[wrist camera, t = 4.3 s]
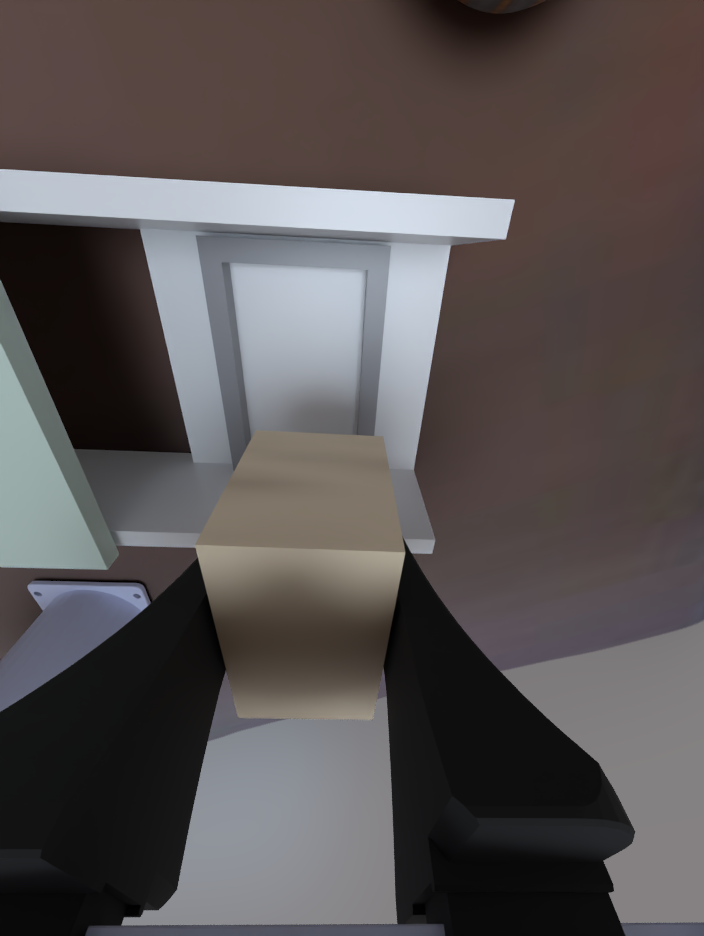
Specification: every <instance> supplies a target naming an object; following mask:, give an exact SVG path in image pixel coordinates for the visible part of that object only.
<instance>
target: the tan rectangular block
mask: <svg viewBox="0 0 704 936" xmlns="http://www.w3.org/2000/svg"><path fill="white" fill-rule="evenodd" d="M195 548H196V552H197V556H198V560H199V564H200V568H201V572H202V575H203V579H204V583H205V587H206V591H207V595H208V599H209V603H210V607H211V611H212V615H213V619H214V623H215V627H216V631H217V635H218V639H219V643H220V647H221V651H222V655H223V659H224V663H225V667H226V671H227V675H228V679H229V683H230V687H231V691H232V695H233V699H234V703H235V707H236V711H237V715H238V718H277V719H337V720H373V717H374V712H375V706H376V701H377V696H378V691H379V686H380V681H381V676H382V670H383V665H384V660H385V655H386V650H387V645H388V640H389V634H390V629H391V624H392V619H393V614H394V609H395V603H396V598H397V593H398V588H399V583H400V578H401V573H402V567H403V562H404V557H405V548H404V542H403V537H402V532H401V527H400V522H399V516H398V511H397V506H396V501H395V496H394V490H393V485H392V480H391V475H390V470H389V464H388V459H387V454H386V449H385V444H384V439H383V436H364V435H343V434H322V433H302V432H281V431H260V430H256V431H255V433H254V435H253V437H252V439H251V441H250V442H249V444H248V446H247V448H246V450H245V452H244V454H243V456H242V457H241V459H240V461H239V463H238V465H237V467H236V469H235V471H234V472H233V474H232V476H231V478H230V480H229V482H228V484H227V486H226V487H225V489H224V491H223V493H222V495H221V497H220V499H219V501H218V502H217V504H216V506H215V508H214V510H213V512H212V514H211V516H210V517H209V519H208V521H207V523H206V525H205V527H204V529H203V531H202V532H201V534H200V536H199V538H198V540H197V542H196V544H195Z"/></svg>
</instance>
